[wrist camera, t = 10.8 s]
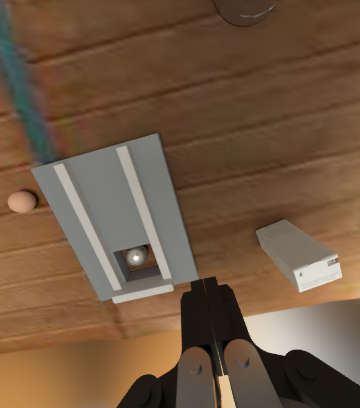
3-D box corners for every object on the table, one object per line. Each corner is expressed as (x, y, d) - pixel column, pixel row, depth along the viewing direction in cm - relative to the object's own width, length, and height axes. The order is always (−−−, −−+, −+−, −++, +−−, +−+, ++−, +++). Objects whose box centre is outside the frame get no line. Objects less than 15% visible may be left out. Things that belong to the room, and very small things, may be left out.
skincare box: (260, 247, 37) (298, 296, 25) (253, 228, 35) (290, 272, 24) (291, 235, 36) (344, 280, 24) (285, 216, 35) (339, 254, 23)
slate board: (43, 166, 31) (13, 172, 25) (159, 133, 29) (154, 132, 24) (106, 289, 40) (94, 314, 34) (197, 268, 38) (200, 291, 33)
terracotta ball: (15, 191, 32) (-4, 197, 29) (34, 186, 32) (17, 192, 28) (26, 210, 33) (9, 218, 30) (45, 205, 33) (29, 213, 30)
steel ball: (129, 247, 37) (120, 246, 33) (148, 242, 37) (141, 240, 33) (132, 267, 36) (123, 269, 32) (152, 262, 36) (145, 263, 32)
